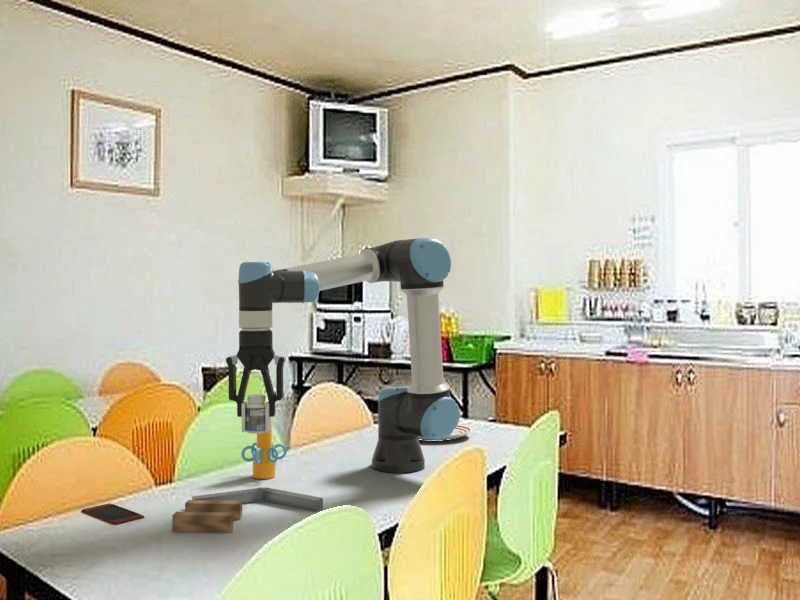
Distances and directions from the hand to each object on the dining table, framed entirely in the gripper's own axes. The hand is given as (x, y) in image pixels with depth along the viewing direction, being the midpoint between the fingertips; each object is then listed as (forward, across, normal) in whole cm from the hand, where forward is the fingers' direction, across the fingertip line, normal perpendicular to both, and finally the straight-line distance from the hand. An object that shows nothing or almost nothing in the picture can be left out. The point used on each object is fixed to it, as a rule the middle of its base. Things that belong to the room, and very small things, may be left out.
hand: (256, 430), depth 169 cm
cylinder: (+18, +4, -29) cm, 35 cm away
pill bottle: (+1, 0, 0) cm, 1 cm away
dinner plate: (+20, -44, -88) cm, 100 cm away
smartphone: (+18, +31, +5) cm, 36 cm away
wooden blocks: (+18, +8, +12) cm, 23 cm away
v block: (+18, 0, -4) cm, 18 cm away
